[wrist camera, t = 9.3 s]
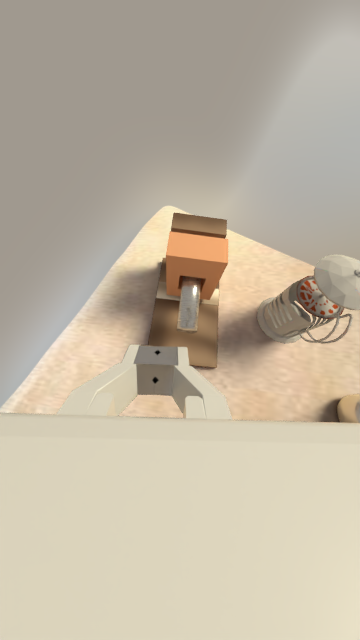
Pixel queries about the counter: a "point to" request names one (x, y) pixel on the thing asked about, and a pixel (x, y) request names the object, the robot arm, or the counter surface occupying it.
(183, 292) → the steel pipe
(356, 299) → the french press
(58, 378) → the counter surface
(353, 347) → the counter surface
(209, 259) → the collar
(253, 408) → the counter surface
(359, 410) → the plastic bottle
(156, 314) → the pipe stand
